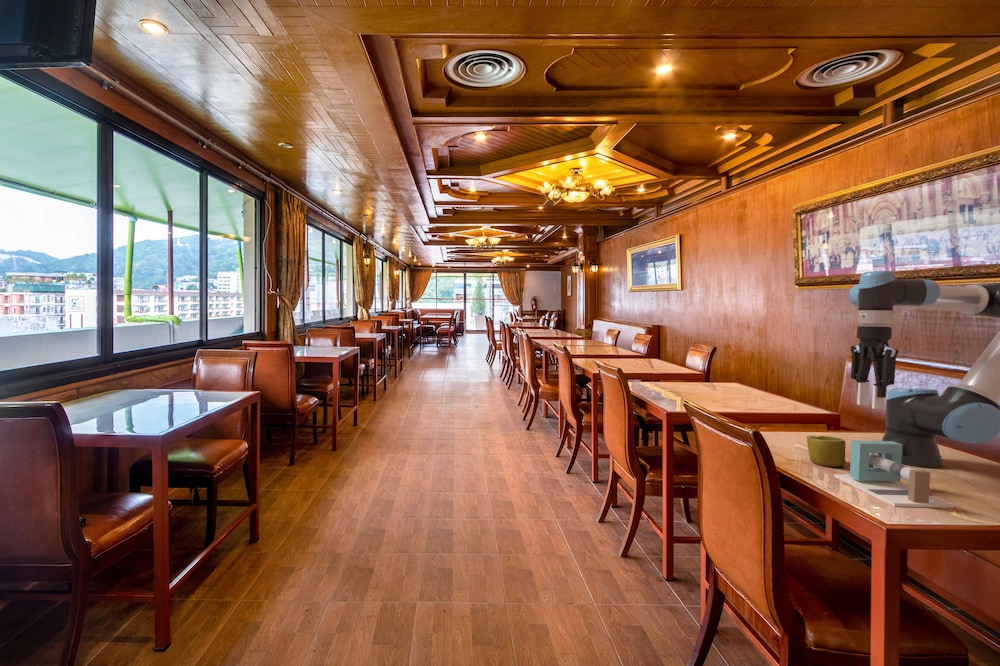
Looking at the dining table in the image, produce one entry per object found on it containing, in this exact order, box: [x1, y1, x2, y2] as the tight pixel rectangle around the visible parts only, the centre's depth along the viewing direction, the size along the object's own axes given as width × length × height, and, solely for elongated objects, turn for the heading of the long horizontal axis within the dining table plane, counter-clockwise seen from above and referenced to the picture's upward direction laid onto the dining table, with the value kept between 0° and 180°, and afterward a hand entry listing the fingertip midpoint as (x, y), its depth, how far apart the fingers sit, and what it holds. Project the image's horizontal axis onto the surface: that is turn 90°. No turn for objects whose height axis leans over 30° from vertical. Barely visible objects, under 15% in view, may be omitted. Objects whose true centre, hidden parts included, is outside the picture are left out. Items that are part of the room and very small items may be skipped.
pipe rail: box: [833, 453, 955, 509], centre depth 112 cm, size 19×14×8 cm
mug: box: [806, 434, 846, 468], centre depth 134 cm, size 12×10×10 cm
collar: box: [849, 439, 902, 482], centre depth 116 cm, size 3×11×10 cm, turn 89°
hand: (870, 406), depth 124 cm, fingers open, 4 cm apart
